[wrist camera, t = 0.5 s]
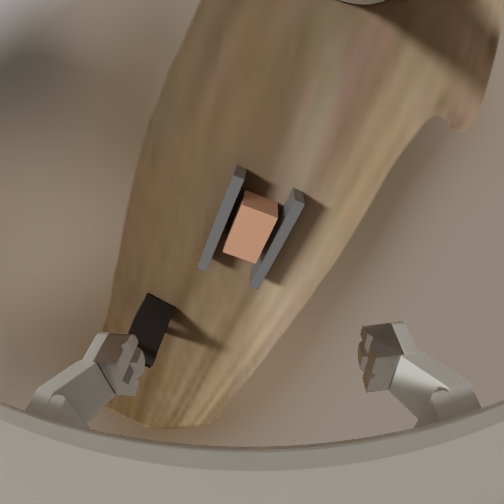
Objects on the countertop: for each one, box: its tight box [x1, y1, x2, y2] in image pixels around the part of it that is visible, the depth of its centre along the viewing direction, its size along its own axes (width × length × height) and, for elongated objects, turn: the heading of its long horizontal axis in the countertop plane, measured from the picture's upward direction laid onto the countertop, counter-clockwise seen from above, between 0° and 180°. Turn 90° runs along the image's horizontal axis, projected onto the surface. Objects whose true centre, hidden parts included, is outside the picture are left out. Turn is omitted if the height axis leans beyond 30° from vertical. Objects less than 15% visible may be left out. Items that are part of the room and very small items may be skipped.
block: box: [223, 190, 278, 264], centre depth 45 cm, size 8×5×5 cm, turn 159°
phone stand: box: [128, 293, 175, 368], centre depth 55 cm, size 9×6×12 cm, turn 147°
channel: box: [197, 166, 305, 289], centre depth 46 cm, size 16×10×4 cm, turn 158°
